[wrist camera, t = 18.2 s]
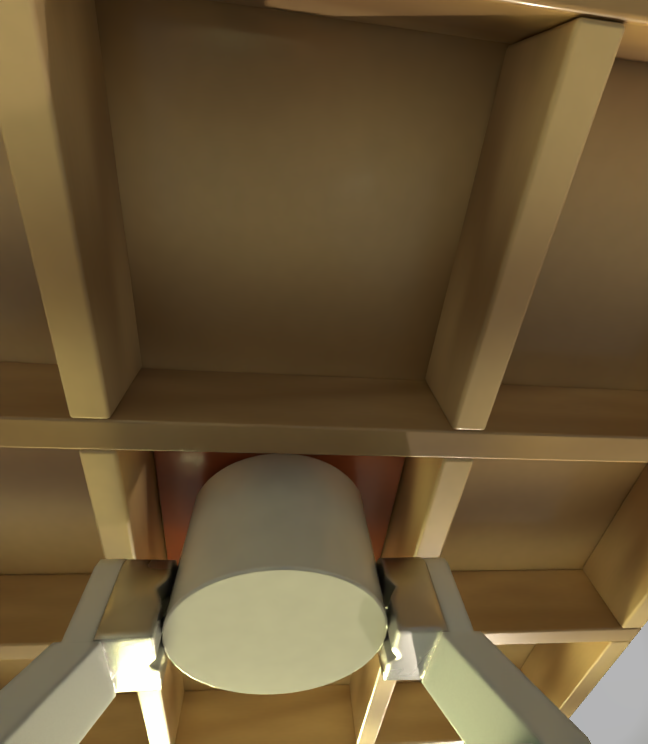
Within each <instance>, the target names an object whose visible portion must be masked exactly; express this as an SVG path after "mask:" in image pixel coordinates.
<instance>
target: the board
mask: <svg viewBox="0 0 648 744" xmlns="http://www.w3.org/2000/svg"><path fill="white" fill-rule="evenodd" d="M263 454H299V455H304V456H309V457H313V458H316V459H319V460H322V461H324V462H326V463H329V464H331V465H332V466H334V467H336V468H338V469H339V470H340V471H342V472H343V473H344V474H346V475H347V476H348V477H349V478H350V479H351V480H352V481H353V483H354V484H355V485H356V487H357V488H358V490H359V492H360V494H361V496H362V498H363V502H364V506H365V511H366V516H367V521H368V525H369V530H370V535H371V540H372V545H373V550H374V555H375V559H376V563H377V560H378V559H379V558H400V557H421V558H435V557H442V558H444V559H445V560H446V561H447V562H448V564H449V567H450V570H451V572H452V575H453V577H454V580H455V583H456V585H457V588H458V590H459V593H460V596H461V598H462V601H463V603H464V606H465V609H466V611H467V614H468V617H469V619H470V622H471V624H472V627H473V630H474V631H481V632H482V633H483V634H484V635H485V636H486V637H487V638H488V639H489V640H490V641H491V642H492V643H493V644H494V645H495V646H496V647H497V648H498V649H499V650H500V651H501V652H502V653H503V654H504V655H505V656H506V657H507V658H508V659H509V660H510V661H511V662H512V663H513V664H514V665H515V666H516V667H517V668H518V669H519V670H520V671H521V672H522V673H523V674H524V675H525V676H526V677H527V678H528V679H529V680H530V681H531V682H532V683H533V684H534V685H535V686H536V687H537V688H538V689H539V690H540V691H541V692H542V693H543V694H544V695H545V696H546V697H547V698H548V699H549V700H550V701H552V702H553V703H554V704H555V705H556V706H557V707H558V708H559V709H560V710H561V711H562V712H563V713H564V714H565V715H566V716H567V717H568V718H570V717H571V715H572V714H573V713H574V711H575V710H576V709H577V708H578V707H579V705H580V704H581V703H582V702H583V701H584V699H585V698H586V697H587V696H588V694H589V693H590V692H591V691H592V689H593V688H594V687H595V686H596V684H597V683H598V682H599V681H600V679H601V678H602V677H603V676H604V675H605V673H606V672H607V671H608V670H609V668H610V667H611V666H612V665H613V663H614V662H615V661H616V660H617V658H618V657H619V656H620V655H621V654H622V652H623V651H624V650H625V649H626V647H627V646H628V645H629V644H630V642H631V641H632V640H633V639H634V637H635V636H636V635H637V634H638V632H639V631H640V630H641V627H643V626H644V625H645V623H646V622H647V621H648V0H0V690H1V689H2V688H4V687H5V686H6V685H7V684H8V683H9V682H10V681H11V680H12V679H13V678H14V677H16V676H17V675H18V674H19V673H20V672H21V671H22V670H23V669H24V668H25V667H27V666H28V665H29V664H30V663H31V662H32V661H33V660H34V659H35V658H36V657H37V656H39V655H40V654H41V653H42V652H43V651H44V650H45V649H46V648H47V647H48V646H50V645H51V644H52V643H53V642H61V641H62V639H63V637H64V635H65V632H66V630H67V628H68V626H69V623H70V621H71V619H72V617H73V614H74V612H75V610H76V608H77V605H78V603H79V601H80V599H81V596H82V594H83V592H84V590H85V587H86V585H87V583H88V581H89V578H90V576H91V574H92V572H93V569H94V567H95V566H96V565H97V563H98V562H99V561H100V560H101V559H149V560H176V561H177V566H178V562H179V558H180V554H181V550H182V546H183V542H184V538H185V534H186V530H187V527H188V523H189V519H190V515H191V511H192V507H193V503H194V501H195V498H196V496H197V494H198V492H199V491H200V489H201V488H202V487H203V485H204V484H205V483H206V482H207V481H208V480H209V479H210V478H211V477H212V476H213V475H215V474H216V473H217V472H219V471H220V470H222V469H223V468H225V467H226V466H228V465H231V464H233V463H235V462H237V461H240V460H243V459H246V458H249V457H253V456H257V455H263ZM421 682H422V680H383V679H382V674H381V668H380V663H379V657H378V652H377V653H376V655H375V656H374V657H373V658H372V659H371V660H370V661H369V662H368V663H366V664H365V665H364V666H363V667H361V668H360V669H358V670H357V671H355V672H354V673H352V674H350V675H348V676H346V677H344V678H342V679H340V680H338V681H335V682H333V683H330V684H327V685H324V686H321V687H317V688H313V689H309V690H304V691H299V692H292V693H284V694H246V693H239V692H232V691H227V690H222V689H219V688H215V687H212V686H209V685H207V684H204V683H201V682H199V681H197V680H195V679H193V678H191V677H189V676H188V675H186V674H185V673H183V672H182V671H181V670H180V669H178V668H177V667H176V666H175V665H174V664H173V663H172V661H171V660H170V659H169V658H168V662H167V666H166V671H165V675H164V679H163V684H162V688H161V689H154V690H140V691H125V692H116V696H115V698H114V699H113V700H112V702H111V703H110V704H109V705H108V707H107V708H106V709H105V711H104V712H103V713H102V715H101V716H100V717H99V718H98V720H97V721H96V722H95V724H94V725H93V726H92V728H91V729H90V730H89V731H88V733H87V734H86V735H85V737H84V738H83V739H82V740H81V742H80V743H79V744H465V743H464V742H463V741H462V739H461V738H460V736H459V735H458V734H457V732H456V731H455V729H454V728H453V726H452V725H451V724H450V722H449V721H448V719H447V718H446V717H445V715H444V714H443V712H442V711H441V709H440V708H439V707H438V705H437V704H436V702H435V701H434V700H433V698H432V697H431V695H430V694H429V692H428V691H427V690H426V688H425V687H424V685H423V684H422V683H421Z"/></svg>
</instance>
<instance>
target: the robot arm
mask: <svg viewBox="0 0 648 744" xmlns="http://www.w3.org/2000/svg"><path fill="white" fill-rule="evenodd" d="M376 564H377V569H378V574H379V579H380V584H381V588H382V593H383V598H384V603H385V608H386V613H387V618H388V628H387V634H386V638H385V640H384V642H383V645H382V646H381V648H380V649H379V651H378V657H379V663H380V668H381V674H382V679H383V680H422V682H421V683H422V684H423V685H424V687H425V688H426V690H427V691H428V692H429V694H430V695H431V697H432V698H433V700H434V701H435V702H436V704H437V705H438V707H439V708H440V709H441V711H442V712H443V714H444V715H445V717H446V718H447V719H448V721H449V722H450V724H451V725H452V726H453V728H454V729H455V731H456V732H457V734H458V735H459V736H460V738H461V739H462V741H463V742H464V743H465V744H591V743H590V741H589V739H588V737H587V736H586V735H585V734H584V733H583V732H582V731H581V730H579V728H578V727H577V726H576V725H575V724H574V723H573V722H572V721H571V720H570V719H569V718H568V717H567V716H566V715H565V714H564V713H563V712H562V711H561V710H560V709H559V708H558V707H557V706H556V705H555V704H554V703H553V702H552V701H550V700H549V699H548V698H547V697H546V696H545V695H544V694H543V693H542V692H541V691H540V690H539V689H538V688H537V687H536V686H535V685H534V684H533V683H532V682H531V681H530V680H529V679H528V678H527V677H526V676H525V675H524V674H523V673H522V672H521V671H520V670H519V669H518V668H517V667H516V666H515V665H514V664H513V663H512V662H511V661H510V660H509V659H508V658H507V657H506V656H505V655H504V654H503V653H502V652H501V651H500V650H499V649H498V648H497V647H496V646H495V645H494V644H493V643H492V642H491V641H490V640H489V639H488V638H487V637H486V636H485V635H484V634H483V633H482V632H481V631H474V630H473V627H472V624H471V622H470V619H469V617H468V614H467V611H466V609H465V606H464V603H463V601H462V598H461V596H460V593H459V590H458V588H457V585H456V583H455V580H454V577H453V575H452V572H451V570H450V567H449V564H448V562H447V561H446V560H445V559H444V558H442V557H435V558H421V557H400V558H379V559H378V560H377V563H376ZM176 570H177V561H176V560H149V559H101V560H100V561H99V562H98V563H97V565H96V566H95V567H94V569H93V572H92V574H91V576H90V578H89V581H88V583H87V585H86V587H85V590H84V592H83V594H82V596H81V599H80V601H79V603H78V605H77V608H76V610H75V612H74V614H73V617H72V619H71V621H70V623H69V626H68V628H67V630H66V632H65V635H64V637H63V639H62V641H61V642H53V643H52V644H51V645H50V646H48V647H47V648H46V649H45V650H44V651H43V652H42V653H41V654H40V655H39V656H37V657H36V658H35V659H34V660H33V661H32V662H31V663H30V664H29V665H28V666H27V667H25V668H24V669H23V670H22V671H21V672H20V673H19V674H18V675H17V676H16V677H14V678H13V679H12V680H11V681H10V682H9V683H8V684H7V685H6V686H5V687H4V688H2V689H1V690H0V744H79V743H80V742H81V740H82V739H83V738H84V737H85V735H86V734H87V733H88V731H89V730H90V729H91V728H92V726H93V725H94V724H95V722H96V721H97V720H98V718H99V717H100V716H101V715H102V713H103V712H104V711H105V709H106V708H107V707H108V705H109V704H110V703H111V702H112V700H113V699H114V698H115V696H116V692H125V691H140V690H154V689H161V688H162V684H163V679H164V675H165V671H166V666H167V662H168V656H167V654H166V652H165V650H164V647H163V644H162V625H163V621H164V617H165V613H166V609H167V605H168V601H169V597H170V593H171V589H172V585H173V581H174V578H175V574H176Z"/></svg>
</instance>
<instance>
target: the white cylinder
mask: <svg viewBox="0 0 648 744" xmlns="http://www.w3.org/2000/svg"><path fill="white" fill-rule="evenodd" d="M387 628H388V618H387V613H386V608H385V603H384V598H383V593H382V588H381V584H380V579H379V574H378V569H377V564H376V559H375V555H374V550H373V545H372V540H371V535H370V530H369V525H368V521H367V516H366V511H365V506H364V502H363V498H362V496H361V494H360V492H359V490H358V488H357V487H356V485H355V484H354V483H353V481H352V480H351V479H350V478H349V477H348V476H347V475H346V474H344V473H343V472H342V471H340V470H339V469H338V468H336V467H334V466H332V465H331V464H329V463H326V462H324V461H322V460H319V459H316V458H313V457H309V456H304V455H299V454H263V455H257V456H253V457H249V458H246V459H243V460H240V461H237V462H235V463H233V464H231V465H228V466H226V467H225V468H223V469H222V470H220V471H219V472H217V473H216V474H215V475H213V476H212V477H211V478H210V479H209V480H208V481H207V482H206V483H205V484H204V485H203V487H202V488H201V489H200V491H199V492H198V494H197V496H196V498H195V501H194V503H193V507H192V511H191V515H190V519H189V523H188V527H187V530H186V534H185V538H184V542H183V546H182V550H181V554H180V558H179V562H178V566H177V570H176V574H175V578H174V581H173V585H172V589H171V593H170V597H169V601H168V605H167V609H166V613H165V617H164V621H163V625H162V644H163V647H164V650H165V652H166V654H167V656H168V658H169V659H170V660H171V661H172V663H173V664H174V665H175V666H176V667H177V668H178V669H180V670H181V671H182V672H183V673H185V674H186V675H188V676H189V677H191V678H193V679H195V680H197V681H199V682H201V683H204V684H207V685H209V686H212V687H215V688H219V689H222V690H227V691H232V692H239V693H246V694H284V693H292V692H299V691H304V690H309V689H313V688H317V687H321V686H324V685H327V684H330V683H333V682H335V681H338V680H340V679H342V678H344V677H346V676H348V675H350V674H352V673H354V672H355V671H357V670H358V669H360V668H361V667H363V666H364V665H365V664H366V663H368V662H369V661H370V660H371V659H372V658H373V657H374V656H375V655H376V653H377V652H378V651H379V649H380V648H381V646H382V645H383V642H384V640H385V638H386V634H387Z"/></svg>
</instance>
